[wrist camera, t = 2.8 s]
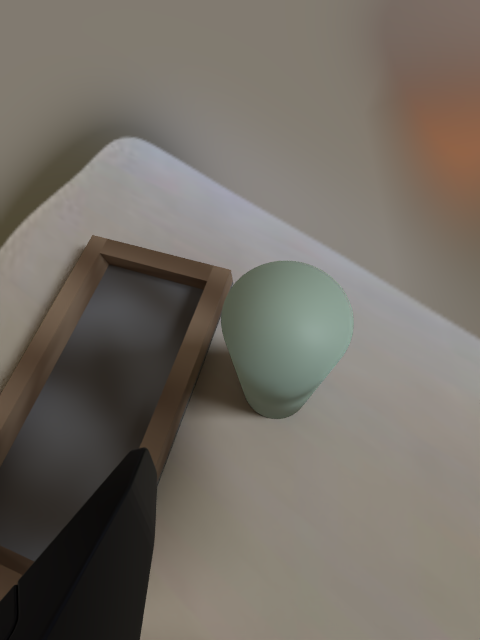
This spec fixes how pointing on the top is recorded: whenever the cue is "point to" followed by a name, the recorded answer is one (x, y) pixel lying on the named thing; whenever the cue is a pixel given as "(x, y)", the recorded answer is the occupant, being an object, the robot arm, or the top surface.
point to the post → (285, 333)
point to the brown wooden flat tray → (99, 386)
